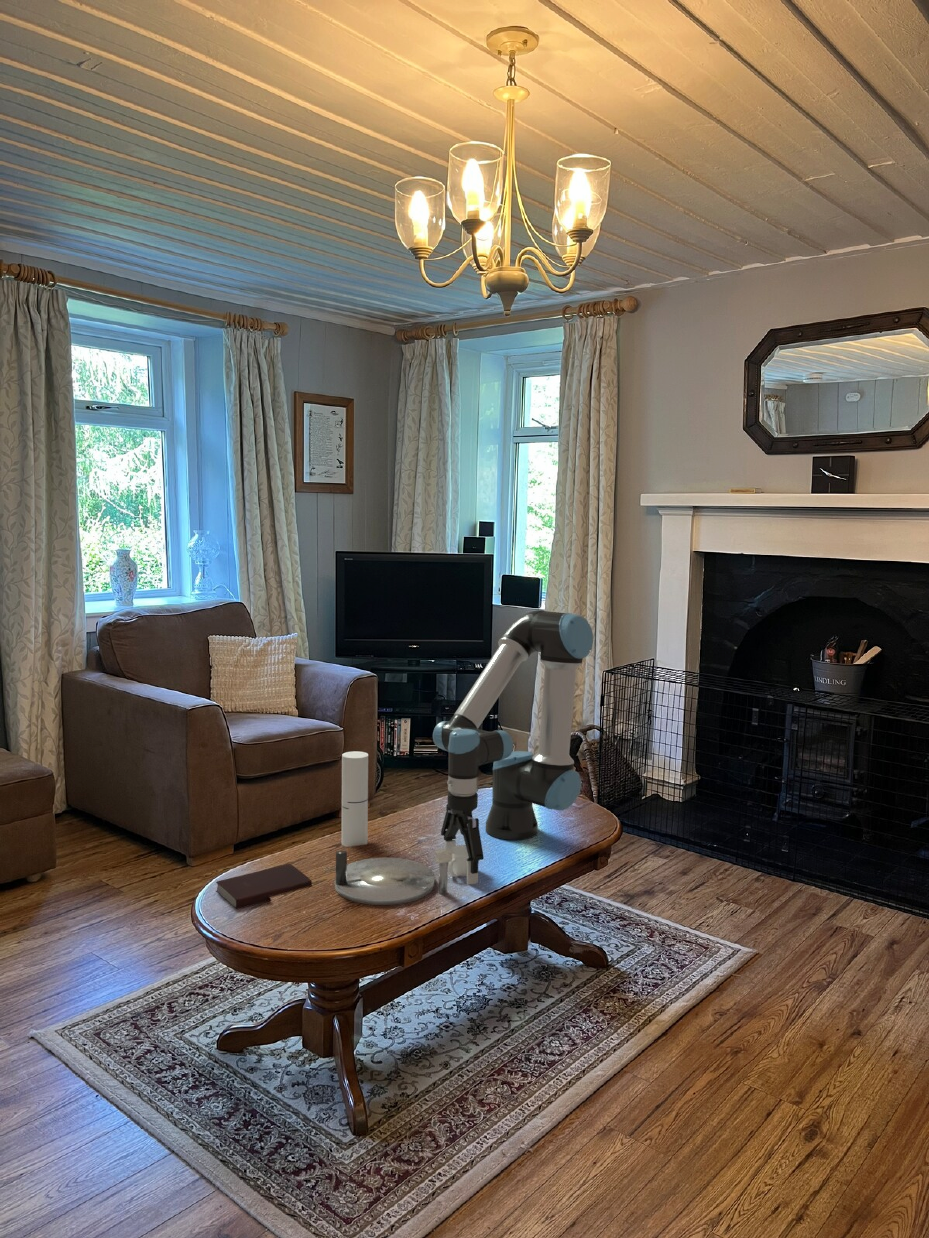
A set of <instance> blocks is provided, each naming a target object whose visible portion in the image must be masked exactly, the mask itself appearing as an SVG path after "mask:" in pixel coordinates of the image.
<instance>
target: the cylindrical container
mask: <svg viewBox="0 0 929 1238" xmlns="http://www.w3.org/2000/svg"><path fill="white" fill-rule="evenodd" d="M368 807H369V753H368V752H365V751H354V750H353V751H346V752H344V753H342V754H341V846H343V847H346V848H349V847H356V846H357V847H358V846H363V845H368V827H369V825H368V823H369V822H368V821H369V820H368V819H369V818H368V817H369V816H368V815H369V814H368V813H369V811H368V810H369V808H368Z"/></svg>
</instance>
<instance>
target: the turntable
mask: <svg viewBox="0 0 929 1238" xmlns="http://www.w3.org/2000/svg"><path fill="white" fill-rule="evenodd" d="M334 888H335V891H336V892H337V894H339V896H341V897H343V898H344V899H347V900H349V901H351V902H355V903H357V904H358V903H359V904H364V905H370V906H394V905H395V906H396V905H402V904H406V903H407V904H408V903H411V902H415V901H417V900H420V899H422V898H424V897H426V896H427V895H429V894H430V893H431V892H432V891H433V889H434V888H435V873H434V871H433V869H431V868H430V867H429V866H427V865H426V864H424V863H421V862H419V861H416V860H412V859H407V858H402V857H371V858H366V859H365V858H364V859H360V860H356V861H354V862H351V863H349V864H348V851H346V850H337V851H336V852H335V876H334Z"/></svg>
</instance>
